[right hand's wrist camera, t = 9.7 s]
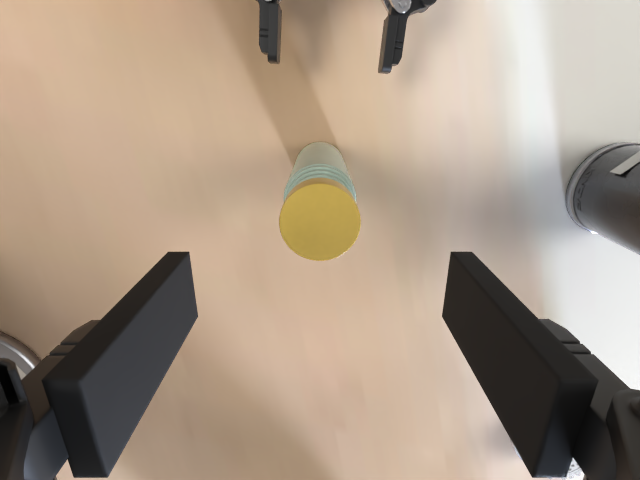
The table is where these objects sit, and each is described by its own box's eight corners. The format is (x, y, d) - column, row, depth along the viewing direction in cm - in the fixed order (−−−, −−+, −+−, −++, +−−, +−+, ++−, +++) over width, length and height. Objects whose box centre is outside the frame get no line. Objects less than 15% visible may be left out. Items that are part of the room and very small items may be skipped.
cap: (281, 248, 23) (278, 259, 21) (282, 175, 21) (279, 181, 20) (354, 251, 23) (357, 262, 21) (360, 179, 21) (364, 185, 20)
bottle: (295, 189, 39) (275, 259, 22) (296, 140, 37) (276, 175, 20) (342, 191, 39) (360, 263, 22) (346, 142, 37) (367, 180, 20)
